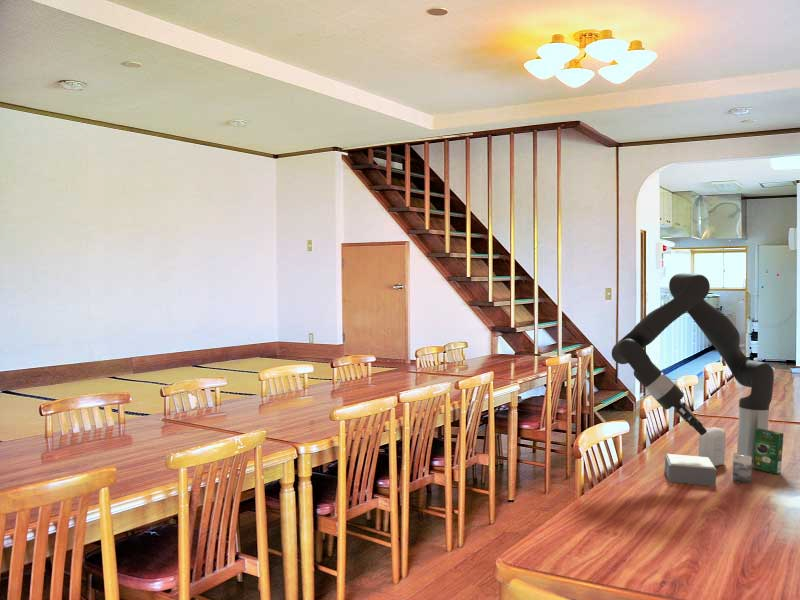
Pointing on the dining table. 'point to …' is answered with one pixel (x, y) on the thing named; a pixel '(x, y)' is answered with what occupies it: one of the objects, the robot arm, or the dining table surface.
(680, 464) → the stand
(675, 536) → the dining table surface
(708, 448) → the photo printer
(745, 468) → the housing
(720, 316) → the robot arm
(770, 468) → the coffee box
